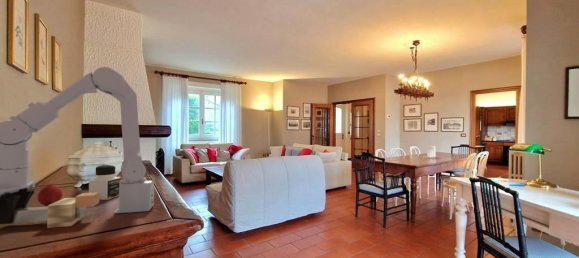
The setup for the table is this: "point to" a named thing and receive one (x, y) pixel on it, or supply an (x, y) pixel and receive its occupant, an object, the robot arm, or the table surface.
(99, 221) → the table surface
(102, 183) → the medicine bottle
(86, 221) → the table surface
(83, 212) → the bar
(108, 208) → the table surface
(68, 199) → the bearing block
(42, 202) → the onion
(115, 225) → the table surface
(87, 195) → the block
